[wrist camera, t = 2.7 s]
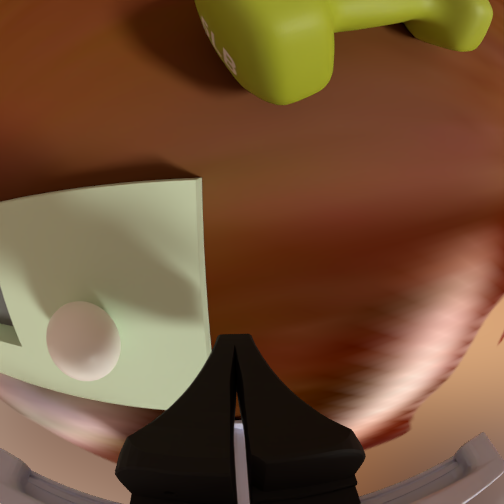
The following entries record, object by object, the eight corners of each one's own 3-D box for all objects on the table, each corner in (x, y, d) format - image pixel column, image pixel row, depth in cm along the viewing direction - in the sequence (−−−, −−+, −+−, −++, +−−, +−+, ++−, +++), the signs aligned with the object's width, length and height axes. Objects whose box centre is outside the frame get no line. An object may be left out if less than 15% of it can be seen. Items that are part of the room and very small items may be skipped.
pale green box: (215, 386, 18) (213, 513, 8) (-10, 350, 16) (-57, 407, 7) (201, 177, 14) (137, 203, 4) (-48, 214, 12) (-122, 247, 2)
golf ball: (137, 353, 14) (116, 403, 10) (79, 346, 13) (51, 389, 10) (122, 288, 12) (89, 332, 9) (60, 286, 12) (20, 323, 8)
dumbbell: (254, 129, 13) (276, 94, 6) (187, 21, 11) (163, -57, 4) (450, 61, 12) (518, 43, 5) (395, -23, 9) (444, -61, 3)
